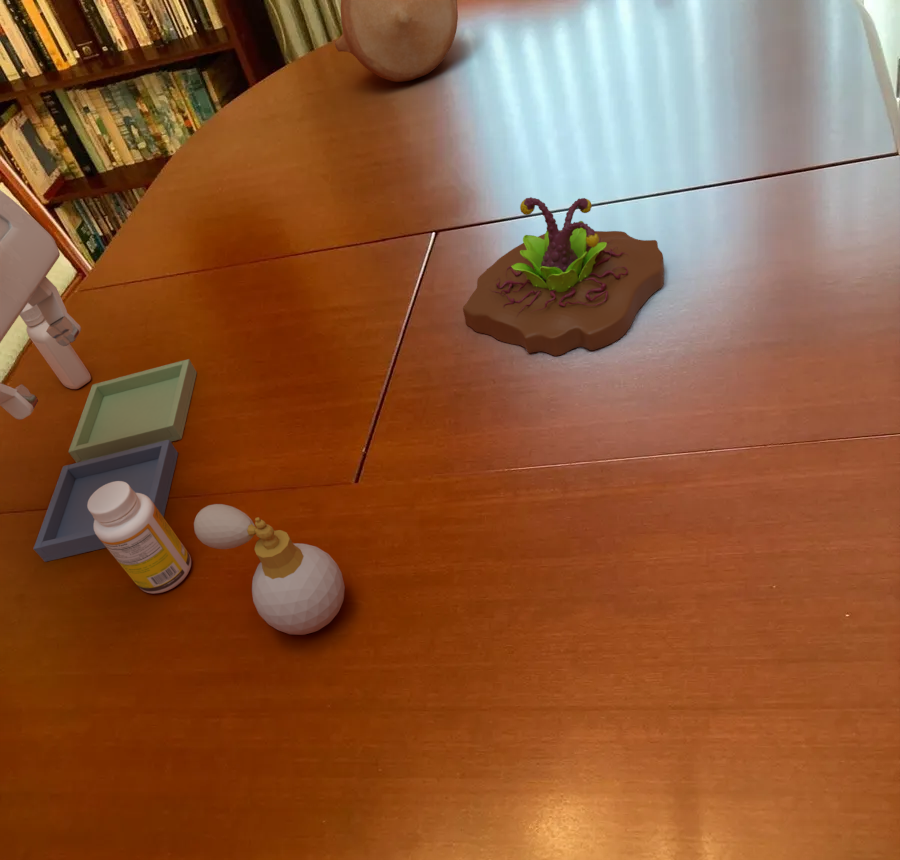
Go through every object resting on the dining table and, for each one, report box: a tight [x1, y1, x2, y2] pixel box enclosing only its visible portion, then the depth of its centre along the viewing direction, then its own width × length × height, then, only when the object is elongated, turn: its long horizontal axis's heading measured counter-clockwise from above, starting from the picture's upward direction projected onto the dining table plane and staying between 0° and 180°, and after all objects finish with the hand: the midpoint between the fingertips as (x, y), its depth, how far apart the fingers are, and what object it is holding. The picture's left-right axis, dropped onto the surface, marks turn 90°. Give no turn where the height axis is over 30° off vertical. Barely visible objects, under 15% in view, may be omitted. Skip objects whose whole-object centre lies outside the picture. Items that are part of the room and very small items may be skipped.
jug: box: [334, 0, 459, 83], centre depth 148 cm, size 20×19×30 cm
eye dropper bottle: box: [19, 303, 92, 390], centre depth 107 cm, size 4×6×12 cm
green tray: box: [68, 358, 198, 463], centre depth 101 cm, size 13×13×2 cm
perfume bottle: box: [193, 503, 346, 636], centre depth 70 cm, size 8×10×12 cm
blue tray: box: [33, 440, 179, 563], centre depth 91 cm, size 13×13×2 cm
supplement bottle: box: [87, 481, 192, 595], centre depth 79 cm, size 6×6×10 cm
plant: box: [462, 196, 665, 357], centre depth 91 cm, size 20×20×11 cm
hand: (52, 373), depth 70 cm, fingers open, 8 cm apart
